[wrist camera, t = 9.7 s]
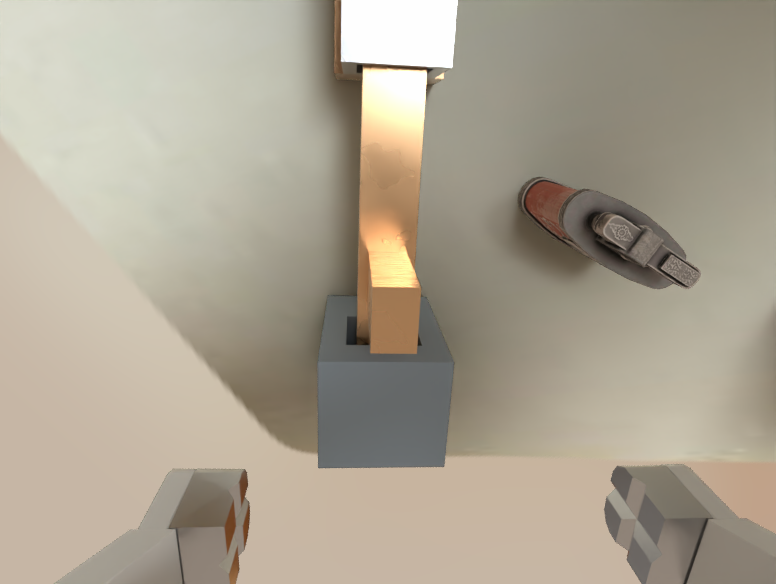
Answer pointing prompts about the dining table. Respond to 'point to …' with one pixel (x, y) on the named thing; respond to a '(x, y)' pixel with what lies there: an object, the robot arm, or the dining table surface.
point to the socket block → (381, 395)
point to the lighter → (608, 233)
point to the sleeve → (394, 36)
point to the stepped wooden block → (389, 208)
